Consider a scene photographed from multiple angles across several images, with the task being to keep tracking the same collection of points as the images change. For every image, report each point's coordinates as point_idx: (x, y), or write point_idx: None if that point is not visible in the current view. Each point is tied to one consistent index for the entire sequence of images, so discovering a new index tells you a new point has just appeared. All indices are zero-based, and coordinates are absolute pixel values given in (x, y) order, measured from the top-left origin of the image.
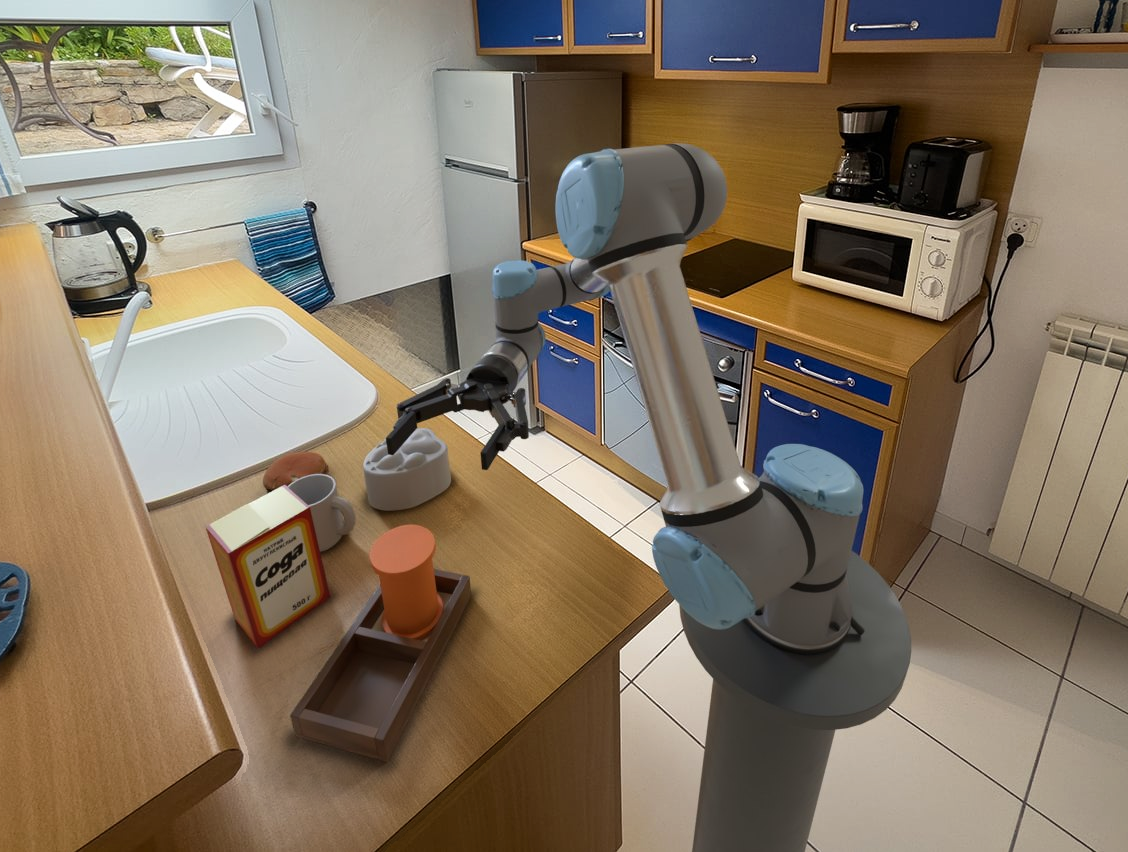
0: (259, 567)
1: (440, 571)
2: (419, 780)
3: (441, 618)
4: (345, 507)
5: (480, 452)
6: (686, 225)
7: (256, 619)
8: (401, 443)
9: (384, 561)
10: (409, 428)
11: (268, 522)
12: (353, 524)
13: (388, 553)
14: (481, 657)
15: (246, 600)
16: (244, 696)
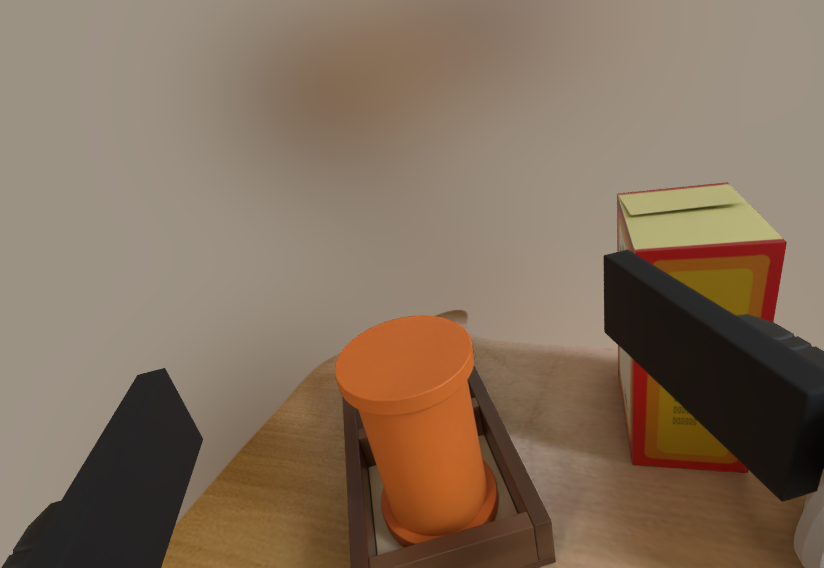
0: None
1: (427, 554)
2: (309, 394)
3: (356, 475)
4: (816, 494)
5: (164, 368)
6: None
7: None
8: (646, 362)
9: (412, 325)
10: (713, 391)
11: (649, 218)
12: (799, 553)
13: (419, 334)
14: (291, 520)
15: None
16: (557, 348)
